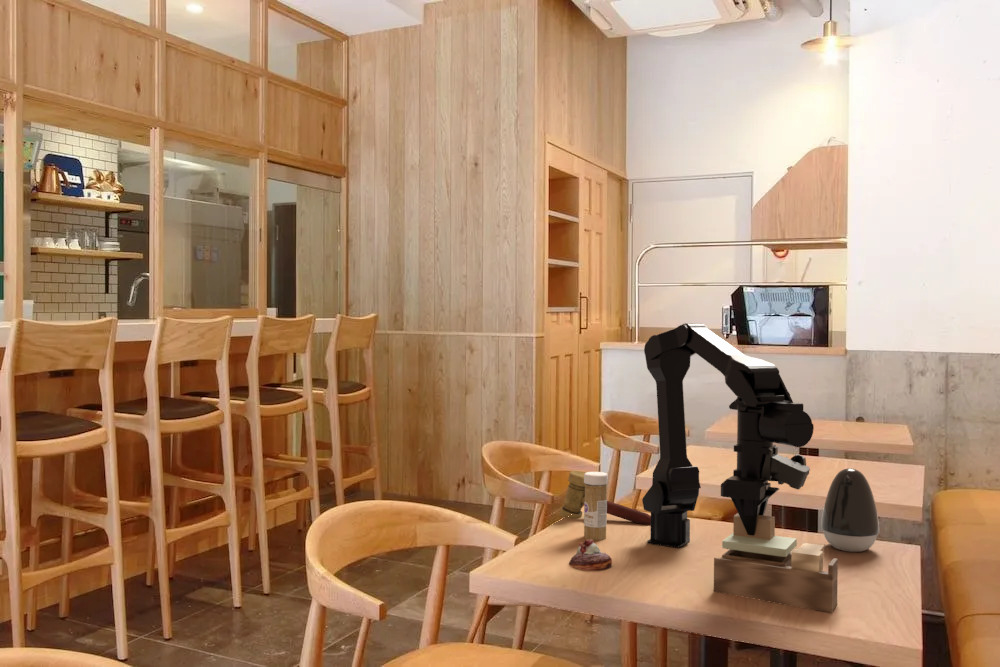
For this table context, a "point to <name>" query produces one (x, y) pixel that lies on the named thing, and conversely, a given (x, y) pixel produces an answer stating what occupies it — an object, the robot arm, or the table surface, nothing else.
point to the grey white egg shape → (850, 513)
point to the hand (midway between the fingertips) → (753, 532)
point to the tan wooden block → (808, 557)
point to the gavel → (577, 500)
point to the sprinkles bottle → (595, 505)
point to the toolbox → (775, 580)
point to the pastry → (590, 557)
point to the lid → (759, 538)
